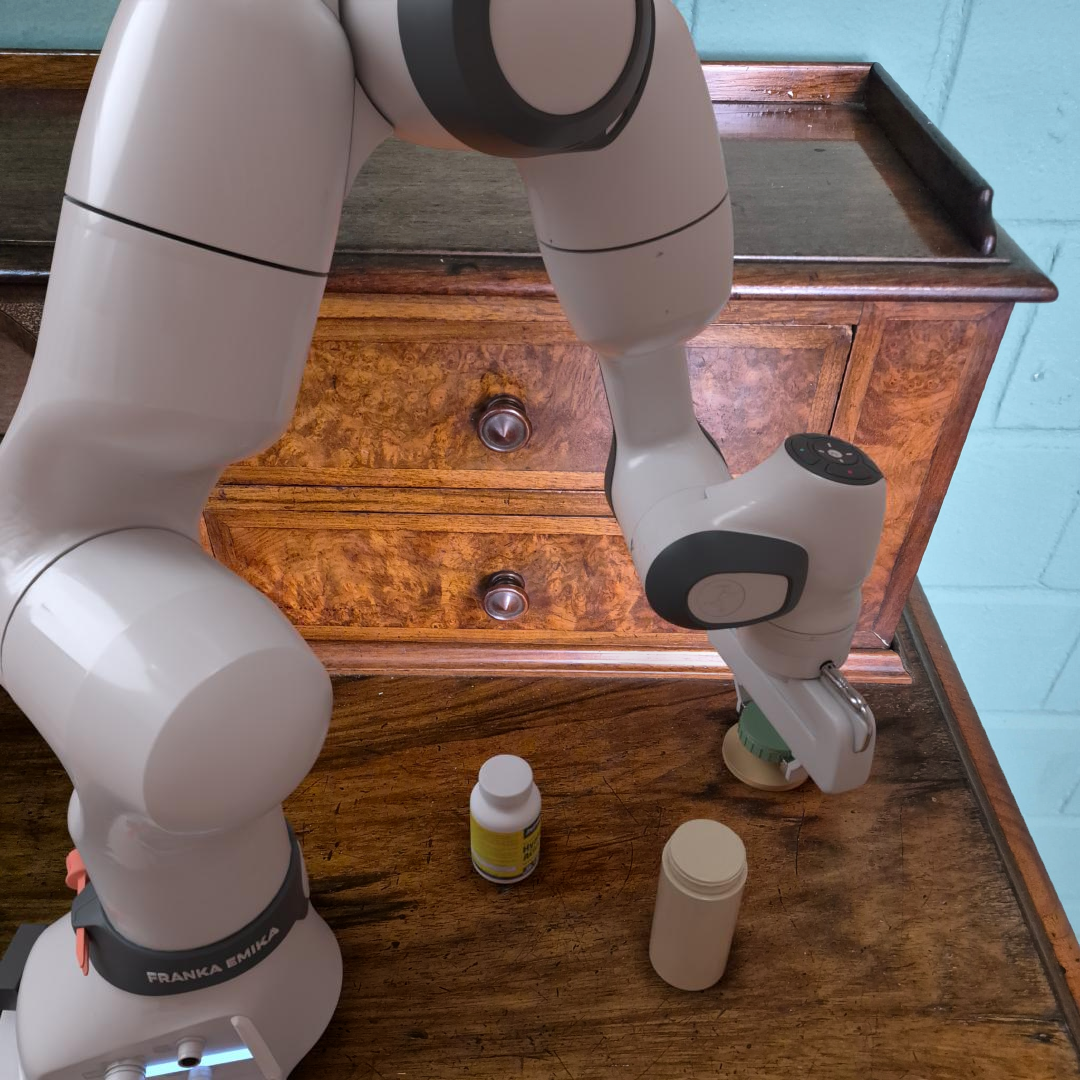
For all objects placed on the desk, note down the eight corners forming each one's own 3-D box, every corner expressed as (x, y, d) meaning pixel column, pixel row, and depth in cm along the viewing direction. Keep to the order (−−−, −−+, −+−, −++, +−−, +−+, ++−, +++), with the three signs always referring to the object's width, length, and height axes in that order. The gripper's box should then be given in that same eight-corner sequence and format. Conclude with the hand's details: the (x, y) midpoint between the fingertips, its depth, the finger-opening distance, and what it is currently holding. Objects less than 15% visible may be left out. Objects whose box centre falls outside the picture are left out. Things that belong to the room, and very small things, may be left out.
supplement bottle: (532, 892, 73) (533, 810, 67) (464, 879, 74) (459, 797, 68) (546, 834, 77) (548, 752, 71) (481, 822, 78) (478, 741, 72)
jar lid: (757, 770, 80) (761, 756, 79) (725, 717, 84) (728, 703, 83) (823, 756, 81) (827, 743, 80) (787, 705, 86) (791, 692, 85)
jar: (671, 1003, 66) (690, 899, 59) (635, 933, 70) (649, 828, 63) (741, 974, 68) (767, 870, 60) (701, 908, 72) (722, 803, 64)
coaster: (750, 802, 80) (752, 796, 79) (706, 736, 86) (707, 729, 85) (829, 777, 82) (831, 771, 82) (781, 714, 88) (782, 708, 88)
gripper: (913, 705, 68) (871, 826, 76) (763, 545, 84) (742, 660, 92) (838, 728, 66) (804, 849, 75) (700, 560, 82) (684, 675, 90)
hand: (769, 743), depth 83 cm, fingers closed on jar lid, 6 cm apart
